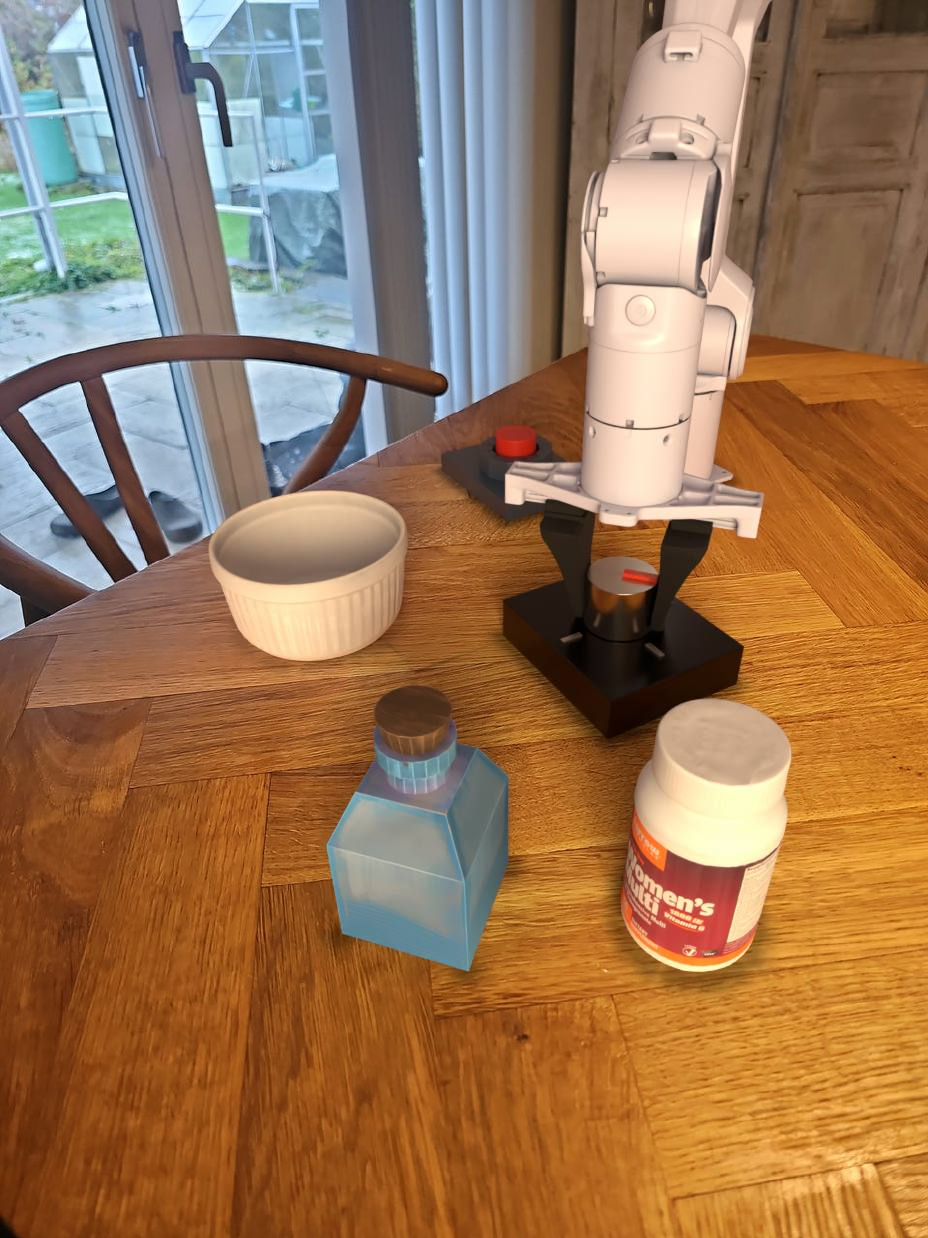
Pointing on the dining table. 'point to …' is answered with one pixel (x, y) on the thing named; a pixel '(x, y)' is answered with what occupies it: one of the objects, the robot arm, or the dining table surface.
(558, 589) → the panel
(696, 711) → the pill bottle
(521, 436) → the button
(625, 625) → the dial
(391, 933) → the perfume bottle
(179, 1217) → the dining table surface
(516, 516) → the button block
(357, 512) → the ramekin
